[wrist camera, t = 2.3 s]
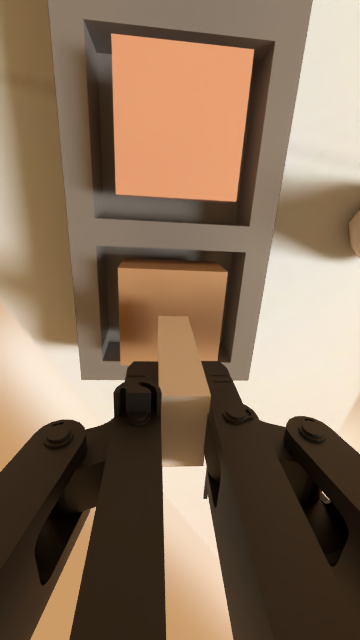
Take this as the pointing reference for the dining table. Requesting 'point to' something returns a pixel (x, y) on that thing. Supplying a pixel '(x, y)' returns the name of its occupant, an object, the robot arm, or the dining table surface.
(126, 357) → the walnut key
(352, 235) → the salt shaker
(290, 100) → the key panel
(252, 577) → the robot arm
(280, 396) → the dining table surface
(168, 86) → the terracotta key
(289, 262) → the dining table surface
